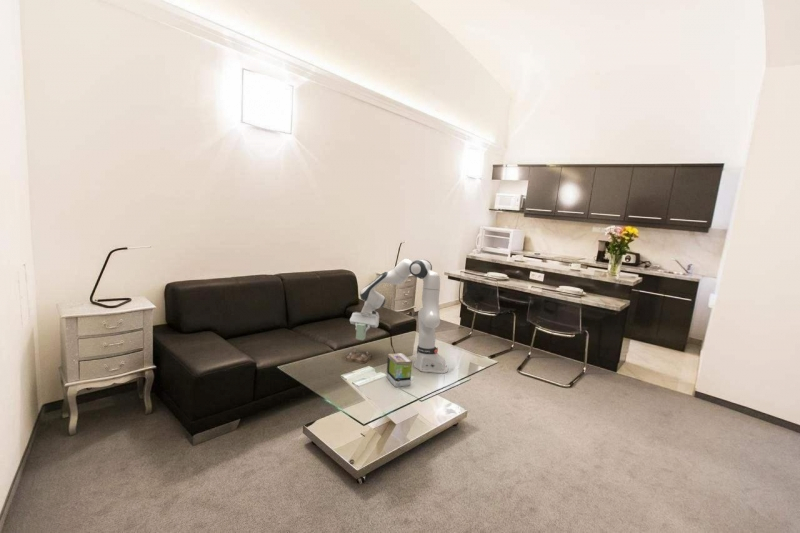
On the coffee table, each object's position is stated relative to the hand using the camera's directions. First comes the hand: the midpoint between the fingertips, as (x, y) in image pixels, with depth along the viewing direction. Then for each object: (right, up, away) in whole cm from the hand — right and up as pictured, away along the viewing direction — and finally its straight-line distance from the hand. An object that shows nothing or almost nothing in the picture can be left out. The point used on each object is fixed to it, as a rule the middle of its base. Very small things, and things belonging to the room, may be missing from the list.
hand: (360, 330), depth 245 cm
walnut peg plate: (-2, -20, +3) cm, 20 cm away
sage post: (0, -6, +1) cm, 6 cm away
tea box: (+25, -25, -30) cm, 46 cm away
